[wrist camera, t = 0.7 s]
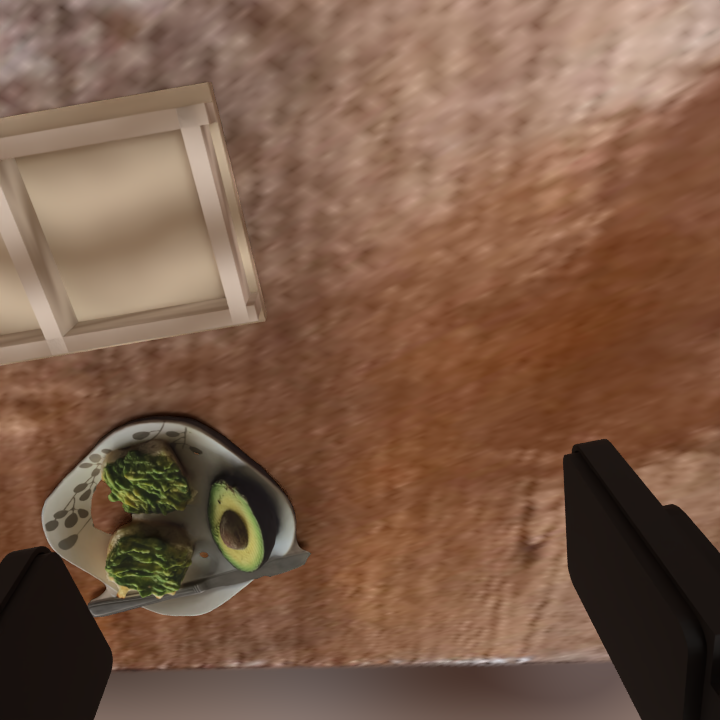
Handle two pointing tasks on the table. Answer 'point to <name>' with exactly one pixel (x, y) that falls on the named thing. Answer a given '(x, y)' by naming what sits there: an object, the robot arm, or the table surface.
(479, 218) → the table surface
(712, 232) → the table surface
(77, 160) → the wooden compartment tray
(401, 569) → the table surface
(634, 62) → the table surface
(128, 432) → the avocado toast plate
